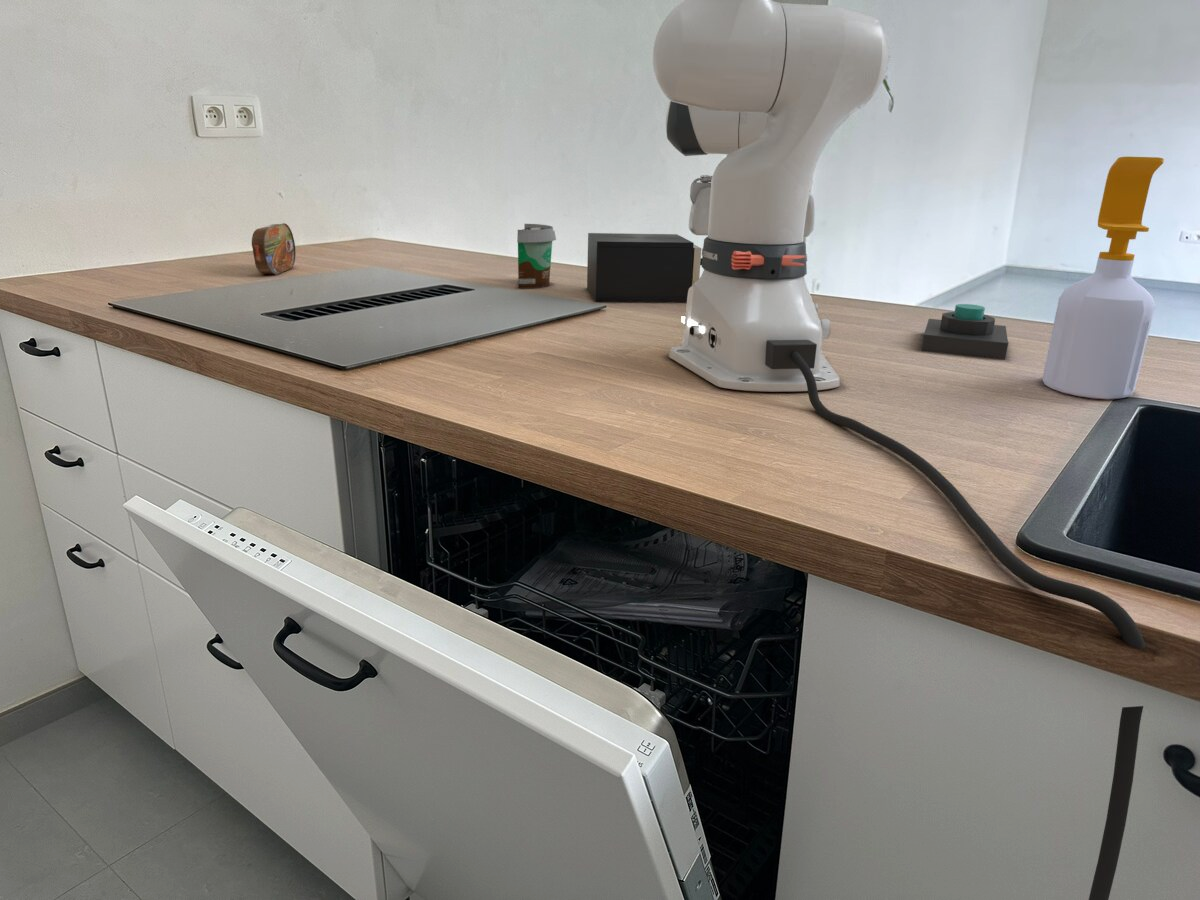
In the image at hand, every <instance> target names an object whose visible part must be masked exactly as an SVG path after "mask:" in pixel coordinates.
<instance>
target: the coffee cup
mask: <svg viewBox="0 0 1200 900" xmlns="http://www.w3.org/2000/svg"><path fill="white" fill-rule="evenodd" d="M516 235H517V274H518V275H517V280H518V284H517V285H518V289H538V288H545V287H548V286H549V285H550V277H551V264H552V250H553V242H554V241H557V237H556V231H555V230H554V227H553V226H552V225H547V224H541V223H524V229H517V234H516Z"/></svg>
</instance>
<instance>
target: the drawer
mask: <svg viewBox="0 0 1200 900" xmlns="http://www.w3.org/2000/svg"><path fill="white" fill-rule="evenodd" d="M701 266H702V248H701V247H699V246H698V245H697V244H694V246H693V262H692V278H691V287H692V285H693V284H695V283H696V282H697V281H698V280H699V278H700V277H701V276H700V275H701Z"/></svg>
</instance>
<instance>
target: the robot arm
mask: <svg viewBox="0 0 1200 900" xmlns="http://www.w3.org/2000/svg"><path fill="white" fill-rule="evenodd" d="M653 43H654V44H653V49H652V66H653V72H654V76H655V79H656V81H657V84H658V86H659V88H660V90H661V91H662V93H663V94H664V96H665V97H666V98H667V99H668V100H669V103H668V106H667V111H666V117H665V132H666V139H667V141H668V142H669V143H670V144H671V145H672V146H673V147H674V149H676V151H678V152H679V153H680V154H681V155H683V156H684V157H693V156H707V155H726V156H725V157H724V158H723V159H722V160H721V161H720V162H719V163H718V164H717V166H716V167H715V169H714V171H713V174H712V175H709V174H702V175H700V177H697V178H695V179H694V180H693V181H692V182H691V185H690V187H689V198H690V201H691V206H690V210H689V217H688V229H689V231H690V232H691V234H693V235H695V236H705V238H704V239H703V244H702V245H703V246H702V248H701V258H702V265H701V268H702V269H703V271H702V272H701V274H700V275H701V276H700V277H699V280H698V281H697V282H696V283H695V284H693V285H692V287H690V288H689V290H688V296H687V302H686V305H685V315H684V316H683V315H682V316H681V323H683V332H682V341H681V345H677V346H673V347H670V348H669V353H668V358H670V359H671V360H673V361H675V362H676V363H678V364H680V365H681V366H683V367H685V368H686V369H688V370H690V371H691V372H693V373H694V374H696V375H697V376H699V377H701V378H702V379H704V380H706V381H707V382H709V383H710V384H712V385H714V386H716V387H718V388H722V389H730V390H735V391H748V392H807V394H808V399H809V402H810V404H811V406H812V409H814V410H815V412H816V413H817V414H818V415H819V416H820V417H821V418H823V419H825V420H827V421H829V422H831V423H832V424H836V425H838V426H842V427H845V428H847V429H849V430H852V431H853V432H855V433H857V434H859V435H861V436H862V437H864V438H866V439H868V440H870V441H872V442H874V443H877V444H878V445H880V446H882V447H884V448H886V449H887V450H889V451H890V452H892V453H894V454H896V455H897V456H899V457H900V458H902V459H903V460H904V461H906V462H908V463H909V464H910V465H912V466H913V467H915V468H916V469H917V470H919V472H920V473H921V474H923V475H924V476H925V477H926V478H927V479H928V480H929V481H931V482H932V484H933V485H935V487H936V488H937V489H938V490H940V491H941V493H942V494H943V495H944V496H945V497H946V498H947V500H949V502H950V503H951V504H952V506H953V507H954V508H955V509H956V511H957V512H958V513H959V515H960V516H961V517H962V519H963V521H965V522H966V523H967V525H968V526H969V527H970V528H971V530H972V531H973V532H974V533H975V534H976V535H977V536H978V537H979V539H980V540H981V541H982V542H983V544H984V545H985V546H986V547H987V549H988V550H989V551H990V553H992V555H993V556H994V557H995V558H996V559H997V560H998V561H999V562H1000V563H1001V565H1003V566H1004V567H1005V568H1006V569H1007V570H1008V571H1009V572H1010V573H1012V574H1013V575H1015V576H1016V577H1017V578H1019V579H1020V580H1021V581H1022V582H1024V583H1025V584H1027V585H1029V586H1031V587H1033V588H1034V589H1036V590H1039V591H1041V592H1044V593H1047V594H1050V595H1053V596H1057V597H1060V598H1064V599H1068V600H1072V601H1076V602H1078V603H1081V604H1084V605H1087V606H1089V607H1091V608H1093V609H1094V610H1097V611H1098V612H1100V613H1101V614H1103V615H1104V616H1105V617H1107V618H1108V619H1109V621H1110V622H1111V623H1112V624H1113V625H1114V627H1115V628H1116V629H1117V632H1118V633H1119V635H1120V637H1121V639H1122V641H1123V642H1124V643H1125V644H1127V645H1129V646H1131V648H1135V649H1138V650H1145V649H1146V647H1147V645H1146V643H1145V640H1144V637H1143V634H1142V632H1141V629H1139V627H1138V626H1137V624H1136V622H1135V620H1134V619H1133V618H1132V617H1131V615H1130V614H1129V613H1128V612H1127V610H1126V609H1124V607H1122V606H1121V605H1120V604H1119V603H1118V602H1116V601H1115V600H1114V599H1112V598H1111V597H1109V596H1107V595H1106V594H1104V593H1102V592H1100V591H1097V590H1095V589H1092V588H1089V587H1086V586H1083V585H1079V584H1075V583H1071V582H1067V581H1064V580H1059V579H1057V578H1053V577H1051V576H1047V575H1045V574H1043V573H1040V572H1039V571H1037V570H1036V569H1034V568H1033V567H1031V566H1030V565H1028V564H1027V563H1026V562H1024V561H1023V560H1022V559H1020V558H1019V557H1018V556H1016V554H1015V553H1014V552H1012V551H1011V550H1010V549H1009V548H1008V547H1007V546H1006V545H1005V543H1004V542H1003V541H1002V540H1001V539H1000V538H999V536H998V535H997V534H996V533H995V531H994V530H992V528H991V527H990V526H989V525H988V524H987V523H986V522H985V520H984V519H982V517H981V516H980V515H979V514H978V513H977V512H976V511H975V509H974V508H973V507H972V505H970V503H969V502H968V501H967V499H966V498H965V497H964V495H962V493H961V492H960V491H959V490H958V489H957V487H955V486H954V485H953V484H952V482H951V481H949V480H948V479H947V478H946V477H945V476H944V475H943V474H942V473H941V472H940V471H939V470H938V469H937V468H936V467H934V466H933V465H932V464H931V463H929V462H928V461H927V460H926V459H924V458H923V457H922V456H921V455H919V454H918V453H916V452H915V451H914V450H912V449H910V448H909V447H907V446H906V445H904V444H902V443H901V442H899V441H897V440H896V439H893V438H891V437H889V436H887V435H885V434H884V433H882V432H880V431H877V430H875V429H873V428H871V427H869V426H868V425H865V424H864V423H861V422H860V421H857V420H856V419H853V418H851V417H848V416H844V415H841V414H838V413H835V412H832V411H831V410H830V409H828V408H827V407H826V406H825V405H824V404H823V403H822V401H821V400H820V397H819V392H818V391H823V390H831V389H835V388H838V387H840V384H841V378H840V376H839V375H838V374H837V372H836V371H835V370H834V367H832V365H831V363H830V362H829V361H828V360H827V358H826V357H825V355H824V354H823V352H822V345H823V340H828V339H829V338H830V335H831V329H832V325H831V324H832V323H831V320H830V319H828V318H819V315H818V314H819V303H814V302H813V298H812V295H811V294H810V293H811V292H810V291H809V289H808V286H807V282H806V279H805V276H806V275H807V274H808V270H807V269H808V268H807V266H808V265H807V262H808V254H807V244H806V242H805V241H804V238H808V237H809V236H810V235H811V234H812V233H813V231H814V227H815V215H816V214H815V213H816V211H815V209H816V207H815V198H814V195H813V194H812V192H811V189H812V187H813V183H814V180H813V177H814V173H815V171H816V168H817V165H818V162H819V160H820V158H821V156H822V154H823V151H824V150H825V148H826V146H827V144H828V143H829V142H830V140H831V138H833V136H834V135H835V133H836V132H837V131H838V130H839V128H840V127H841V126H842V125H843V124H844V123H845V122H846V121H847V120H848V119H849V118H851V116H852V115H854V114H855V113H856V112H857V111H859V110H861V109H862V108H864V107H865V106H866V105H867V104H868V103H869V102H870V101H871V100H872V99H873V98H874V97H875V95H876V94H877V93H878V91H879V89H880V88H881V86H882V84H883V83H884V80H885V77H886V75H887V72H888V68H889V67H888V66H889V61H890V48H889V47H890V46H889V41H888V37H887V33H886V32H885V30H884V27H883V25H882V24H881V22H880V21H879V19H878V18H877V17H876V16H874V15H871V14H867V13H865V12H862V11H858V10H854V9H851V8H848V7H843V6H839V5H833V4H832V5H829V4H810V3H790V2H789V3H788V2H787V3H786V2H779V1H774V0H684V1H682V2H681V3H679V4H678V5H676V6H675V7H674V8H673V9H672V10H671V11H670V12H669V14H668V15H667V16H666V17H665V19H664V20H663V21H662V23H661V25H660V26H659V29H658V31H657V33H656V36H655V40H654V42H653ZM1121 708H1122V709H1121V713H1120V717H1119V718H1120V719H1119V726H1118V734H1117V744H1116V751H1115V760H1114V768H1113V776H1112V782H1111V787H1110V795H1109V800H1108V807H1107V812H1106V819H1105V824H1104V829H1103V833H1102V839H1101V843H1100V849H1099V854H1098V858H1097V863H1096V867H1095V871H1094V875H1093V879H1092V885H1091V888H1090V892H1089V895H1088V896H1089V897H1088V900H1109V899H1110V895H1111V892H1112V888H1113V887H1112V886H1113V883H1114V879H1115V875H1116V871H1117V867H1118V862H1119V859H1120V858H1119V857H1120V852H1121V848H1122V844H1123V838H1124V833H1125V830H1126V824H1127V819H1128V811H1129V807H1130V801H1131V794H1132V788H1133V783H1134V775H1135V767H1136V760H1137V759H1136V758H1137V750H1138V744H1139V743H1138V742H1139V734H1140V727H1141V720H1142V715H1143V710H1144V705H1137V706H1124V707H1123V706H1122V707H1121Z"/></svg>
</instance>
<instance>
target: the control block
mask: <svg viewBox="0 0 1200 900" xmlns="http://www.w3.org/2000/svg"><path fill="white" fill-rule="evenodd" d="M954 312H955V311H948V312H942V314H941V318H940V319H937V318H928V320H927V324H926V327H925V329H924V333H923V336H922V337H923V338H922V344H921V351H922V352H930V353H939V354H948V355H957V356H966V357H976V358H986V359H993V360H1004V361H1005V360H1006V357H1007V353H1008V347H1009V339H1008V331H1007V326H1006V325H999V324H996V318H995V317H993V316H990V315H987V314H984V316H983V320H969V319H961V318H956V317H954Z"/></svg>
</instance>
